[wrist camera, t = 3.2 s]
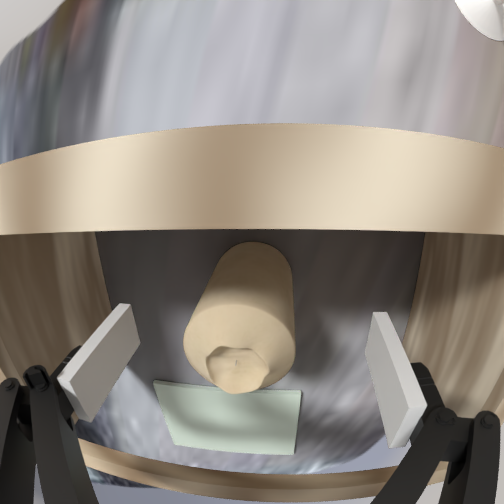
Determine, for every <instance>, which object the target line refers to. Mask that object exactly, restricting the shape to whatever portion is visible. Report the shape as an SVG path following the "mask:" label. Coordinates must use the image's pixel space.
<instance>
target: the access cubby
mask: <svg viewBox="0 0 504 504" xmlns="http://www.w3.org/2000/svg"><path fill="white" fill-rule="evenodd" d="M171 229H334V230H386V231H422V232H425V237H424V244H423V250H422V256H421V262H420V268H419V273H418V279H417V284H416V289H415V293H414V298H413V302H412V307H411V311H410V315H409V319H408V323H407V327H406V331H405V335H404V339H403V342H402V346H403V348H404V351H405V353H406V355H407V357H408V360H409V362H410V363H416V362H421V363H422V364H424V365H425V366H426V367H427V368H428V370H429V372H430V374H431V376H432V378H433V380H434V383H435V385H436V387H437V389H438V391H439V394H440V396H441V398H442V401H443V403H444V405H445V407H446V408H449V409H451V410H453V411H454V412H455V413H456V415H457V417H462V418H475V416H476V415H477V414H478V413H479V412H481V411H487V410H488V411H491V412H493V413H495V414H496V415H497V416H498V418H499V419H500V427H501V425H502V424H503V422H504V148H501V147H496V146H492V145H488V144H483V143H478V142H474V141H468V140H463V139H458V138H452V137H447V136H440V135H434V134H427V133H420V132H413V131H405V130H396V129H387V128H376V127H364V126H350V125H332V124H295V123H276V124H238V125H220V126H205V127H193V128H182V129H172V130H164V131H155V132H148V133H140V134H133V135H127V136H120V137H114V138H108V139H103V140H97V141H92V142H87V143H82V144H77V145H72V146H68V147H63V148H59V149H55V150H51V151H46V152H42V153H39V154H35V155H31V156H27V157H24V158H20V159H17V160H13V161H10V162H6V163H3V164H0V384H1V382H3V381H4V380H5V379H7V378H11V377H13V378H16V379H18V381H19V382H20V384H21V386H27V384H26V382H25V380H24V379H23V373H24V372H25V370H26V369H28V368H29V367H31V366H34V365H42V366H44V367H45V368H46V370H47V372H48V374H49V376H50V375H51V374H52V373H53V372H54V371H55V369H56V368H57V367H58V366H59V365H60V363H61V362H62V361H63V360H64V359H65V358H66V357H67V355H68V354H69V353H70V352H71V350H73V349H74V348H76V347H77V346H79V345H81V346H83V345H84V344H85V342H86V341H87V340H88V339H89V338H90V337H91V335H92V334H93V333H94V332H95V331H96V330H97V328H98V327H99V326H100V325H101V324H102V323H103V322H104V320H105V319H106V318H107V317H108V316H109V315H110V314H111V312H112V308H111V305H110V301H109V297H108V293H107V288H106V284H105V280H104V275H103V271H102V266H101V261H100V256H99V251H98V246H97V241H96V235H95V231H119V230H171ZM71 416H72V418H73V420H74V424H76V422H77V421H78V419H79V418H78V416H77V415H76V413H75V411H74V412H73V413H72V415H71ZM78 440H79V444H80V448H81V451H82V455H83V458H84V462H85V465H86V466H88V467H91V468H93V469H96V470H99V471H102V472H105V473H108V474H111V475H114V476H118V477H121V478H124V479H128V480H131V481H135V482H138V483H142V484H146V485H150V486H154V487H159V488H163V489H168V490H173V491H178V492H183V493H189V494H195V495H201V496H208V497H215V498H224V499H233V500H244V501H259V502H318V501H319V502H321V501H336V500H346V499H356V498H364V497H371V496H377V495H378V493H379V492H380V491H381V489H382V488H383V487H384V485H385V484H386V483H387V481H388V480H389V479H390V477H391V476H392V474H393V473H394V471H395V470H396V469H397V467H398V466H399V465H398V466H392V467H387V468H380V469H372V470H364V471H354V472H343V473H329V474H300V475H283V474H255V473H240V472H229V471H220V470H211V469H204V468H197V467H190V466H184V465H178V464H173V463H167V462H162V461H158V460H153V459H149V458H144V457H140V456H136V455H132V454H128V453H124V452H121V451H117V450H114V449H110V448H107V447H104V446H100V445H97V444H94V443H91V442H88V441H85V440H82V439H79V438H78ZM447 467H448V462H446V461H440V462H439V464H438V466H437V468H436V470H435V472H434V474H433V475H432V477H431V479H430V481H429V483H428V484H427V486H428V485H431V484H435V483H439V482H443V481H444V480H445V476H446V471H447Z"/></svg>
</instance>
